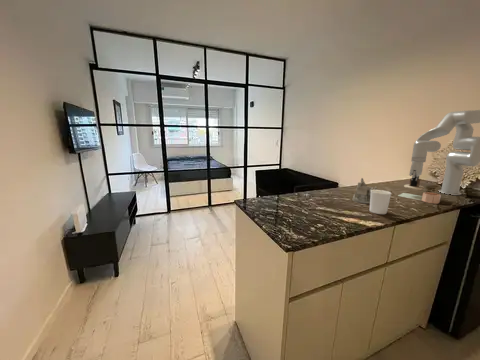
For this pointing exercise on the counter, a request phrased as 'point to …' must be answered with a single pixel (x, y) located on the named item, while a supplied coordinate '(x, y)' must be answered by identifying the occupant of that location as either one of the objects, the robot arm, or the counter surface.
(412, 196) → the mat
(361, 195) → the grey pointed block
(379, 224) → the counter surface
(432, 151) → the robot arm
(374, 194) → the candle holder
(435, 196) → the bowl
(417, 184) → the lid
